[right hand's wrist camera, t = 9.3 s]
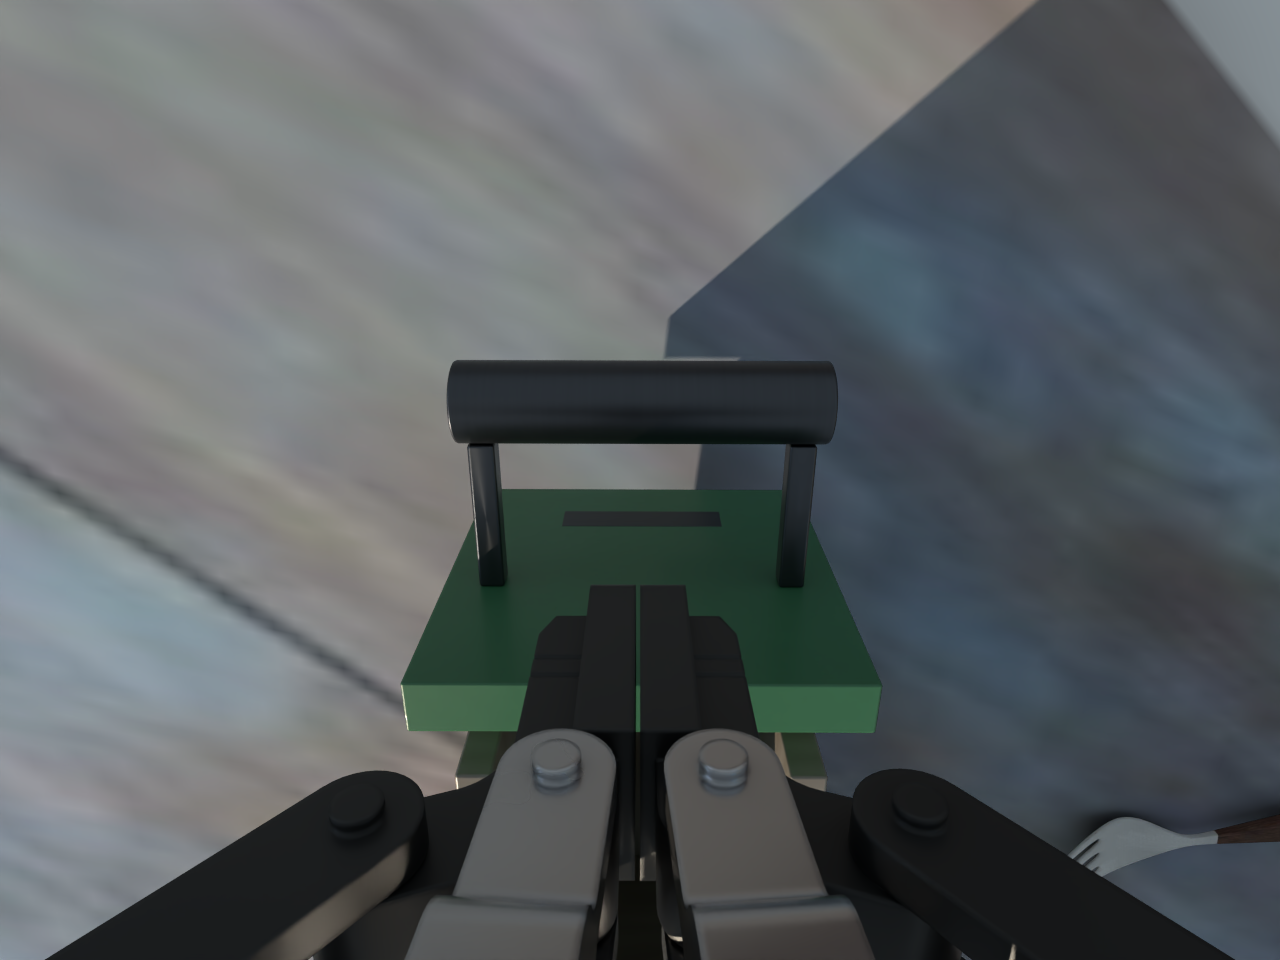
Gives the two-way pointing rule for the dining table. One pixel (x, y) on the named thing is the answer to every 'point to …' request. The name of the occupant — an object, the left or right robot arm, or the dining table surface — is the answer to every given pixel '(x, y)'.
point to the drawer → (642, 559)
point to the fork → (1161, 840)
